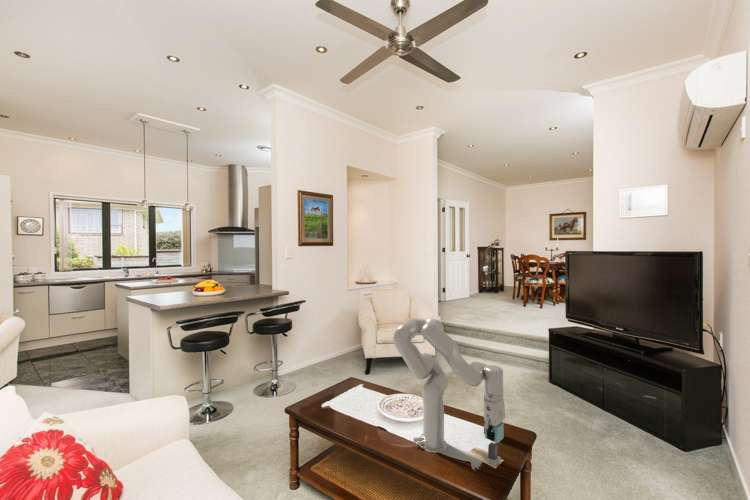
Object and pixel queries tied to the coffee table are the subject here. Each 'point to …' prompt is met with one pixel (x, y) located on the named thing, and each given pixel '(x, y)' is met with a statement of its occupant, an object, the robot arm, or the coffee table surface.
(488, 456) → the post
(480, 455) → the board
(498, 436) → the mint green cube
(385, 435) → the coffee table surface
